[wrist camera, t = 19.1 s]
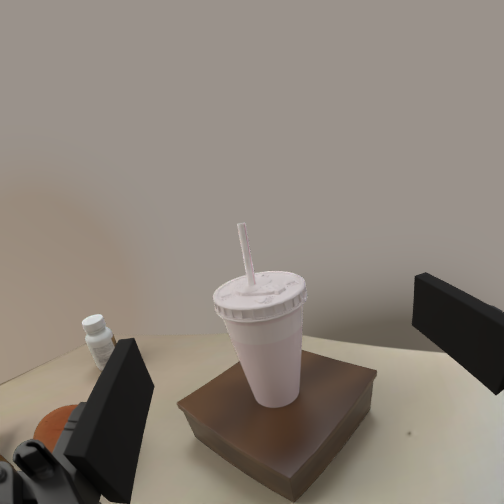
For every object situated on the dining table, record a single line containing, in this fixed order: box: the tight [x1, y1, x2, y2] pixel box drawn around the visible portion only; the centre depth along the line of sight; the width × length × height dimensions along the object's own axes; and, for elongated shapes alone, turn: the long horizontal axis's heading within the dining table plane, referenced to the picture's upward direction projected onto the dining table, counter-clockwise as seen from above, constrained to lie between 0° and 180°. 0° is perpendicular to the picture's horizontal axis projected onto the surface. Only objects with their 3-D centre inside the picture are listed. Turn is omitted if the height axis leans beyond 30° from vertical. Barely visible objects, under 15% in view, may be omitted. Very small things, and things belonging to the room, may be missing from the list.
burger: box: [33, 405, 78, 453], centre depth 19 cm, size 10×9×5 cm
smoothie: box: [213, 223, 308, 408], centre depth 20 cm, size 6×6×14 cm
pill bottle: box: [82, 314, 117, 371], centre depth 36 cm, size 4×4×8 cm
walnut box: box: [177, 350, 377, 502], centre depth 22 cm, size 12×12×5 cm
